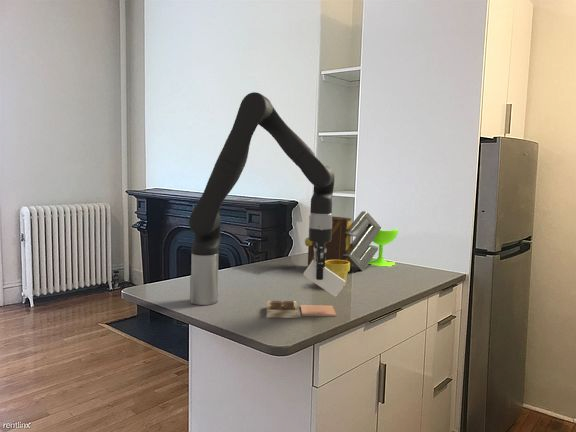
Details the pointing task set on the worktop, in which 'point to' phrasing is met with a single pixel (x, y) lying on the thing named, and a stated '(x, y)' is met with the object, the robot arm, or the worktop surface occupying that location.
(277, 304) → the walnut offcut left
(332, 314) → the terracotta tile
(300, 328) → the worktop surface
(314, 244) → the wooden crate
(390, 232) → the wineglass
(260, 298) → the worktop surface
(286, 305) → the walnut offcut right
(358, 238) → the emblem
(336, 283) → the light grey flat block
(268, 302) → the birch rack
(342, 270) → the plant pot
